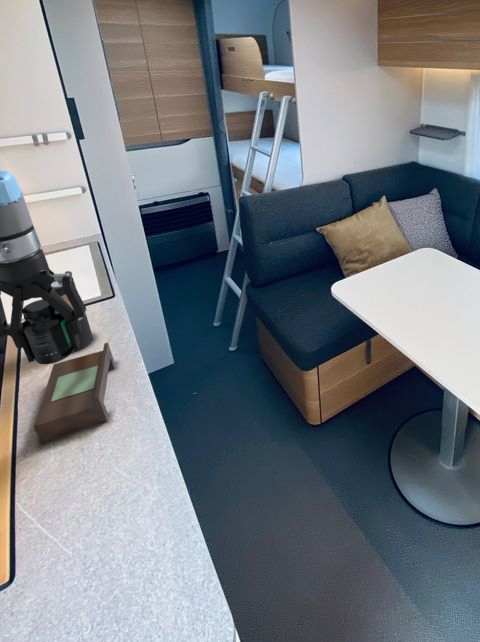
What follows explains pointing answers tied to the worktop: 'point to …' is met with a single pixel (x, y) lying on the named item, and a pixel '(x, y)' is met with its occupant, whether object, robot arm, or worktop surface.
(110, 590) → the worktop surface
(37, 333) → the supplement bottle
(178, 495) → the worktop surface
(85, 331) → the travel mug
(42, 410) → the wooden plaque with label
